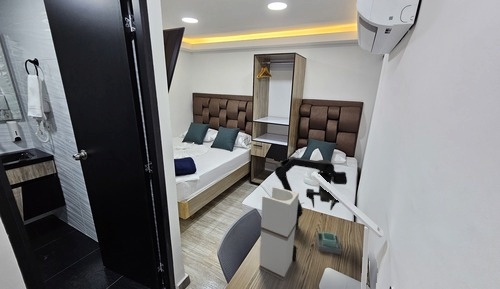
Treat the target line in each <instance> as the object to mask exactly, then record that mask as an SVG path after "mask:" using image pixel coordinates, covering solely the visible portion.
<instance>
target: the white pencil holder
mask: <svg viewBox="0 0 500 289" xmlns="http://www.w3.org/2000/svg"><path fill="white" fill-rule="evenodd" d="M299 195H300V194H299V192H296V191H293V190H292V191H289V190H285V189H284V188H280V187H277V186H272V192H271V197H270V196H266V195H262V199H261V200H262V201H261V221H260V222H261V223H260V243H259V244H260V247H259V269H260V270H262V271H265V272H266V273H268V274H271V275H272V276H274V277H275V278H278V279H279V280H281V281H285V280H286V277H287V275H288V273H289V272H290V269H291V267H292V266H293V263H294V262H293V259H292V256H293V245H295V244H294V243H295V241H294V240H295V233H296V232H295V231H296V230H295V229H296V219H297V208H298V199H299Z"/></svg>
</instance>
